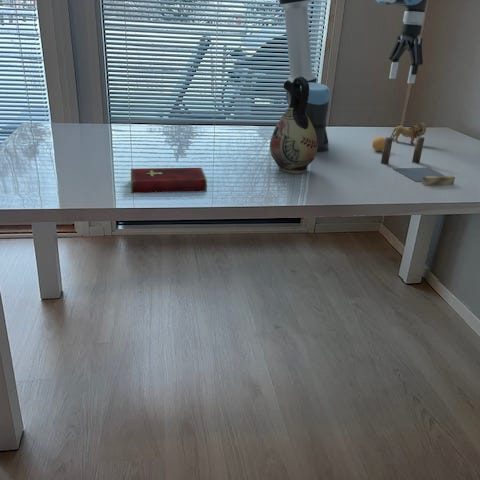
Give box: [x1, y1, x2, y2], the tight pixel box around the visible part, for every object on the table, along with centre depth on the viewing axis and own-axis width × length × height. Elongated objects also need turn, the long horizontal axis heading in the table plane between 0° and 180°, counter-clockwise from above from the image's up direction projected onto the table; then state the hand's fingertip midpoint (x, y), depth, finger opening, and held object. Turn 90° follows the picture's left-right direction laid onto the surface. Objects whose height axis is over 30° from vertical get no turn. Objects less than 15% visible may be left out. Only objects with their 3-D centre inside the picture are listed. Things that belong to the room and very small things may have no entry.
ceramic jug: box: [269, 77, 318, 174], centre depth 154 cm, size 17×15×30 cm
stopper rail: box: [421, 174, 456, 187], centre depth 153 cm, size 10×2×2 cm, turn 104°
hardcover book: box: [130, 167, 208, 194], centre depth 141 cm, size 12×21×4 cm, turn 101°
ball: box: [371, 136, 386, 152], centre depth 188 cm, size 6×6×6 cm
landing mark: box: [392, 166, 445, 183], centre depth 163 cm, size 14×14×1 cm
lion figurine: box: [389, 122, 427, 147], centre depth 201 cm, size 15×5×9 cm, turn 67°
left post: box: [380, 136, 394, 165], centre depth 171 cm, size 3×3×9 cm
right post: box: [411, 136, 425, 164], centre depth 174 cm, size 3×3×9 cm
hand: (401, 80), depth 198 cm, fingers open, 13 cm apart
